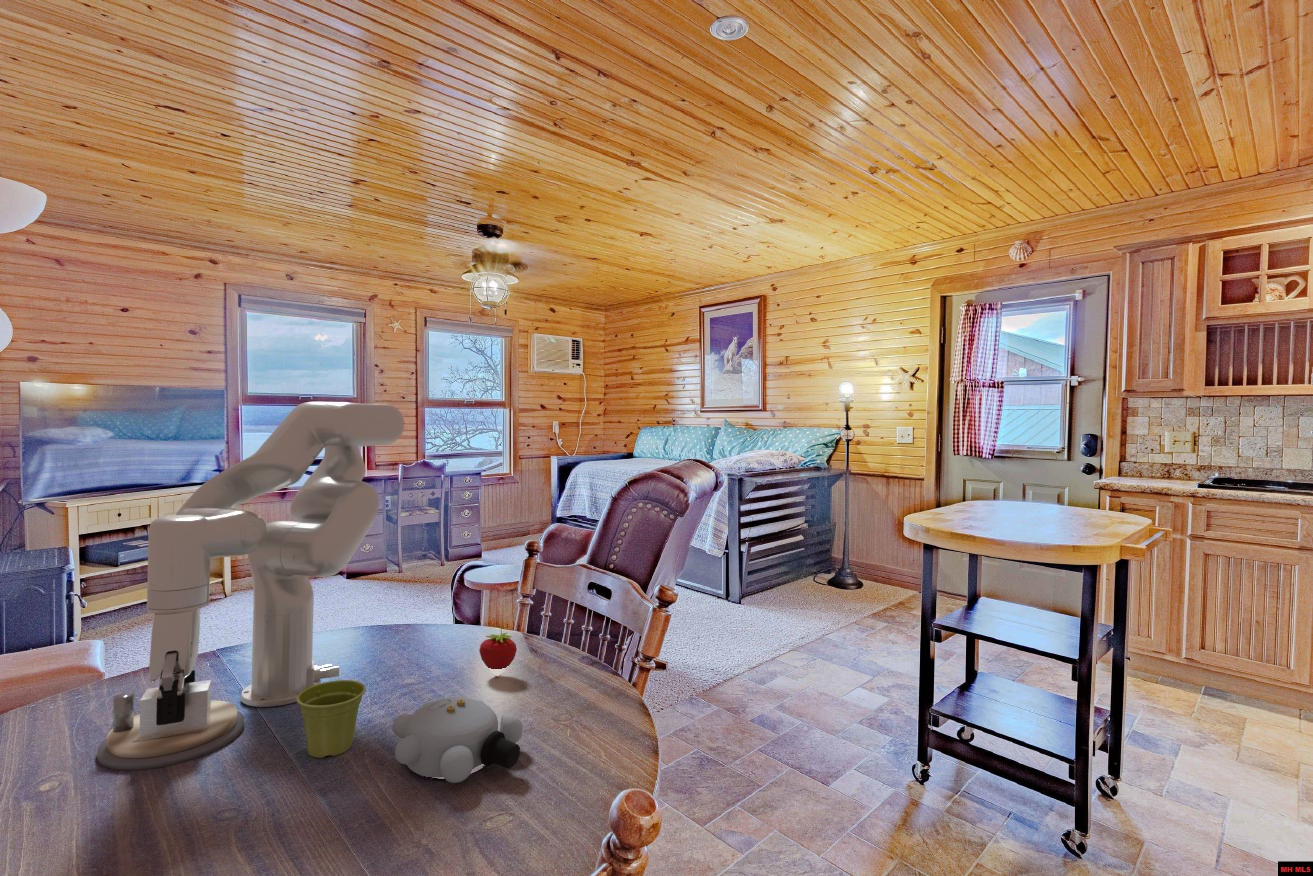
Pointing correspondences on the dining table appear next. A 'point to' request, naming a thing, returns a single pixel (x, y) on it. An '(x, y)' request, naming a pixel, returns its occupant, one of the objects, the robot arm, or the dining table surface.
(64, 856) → the dining table surface
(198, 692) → the link block
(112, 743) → the turntable
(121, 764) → the turntable base
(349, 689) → the plant pot
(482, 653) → the strawberry
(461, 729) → the grey toy figure
